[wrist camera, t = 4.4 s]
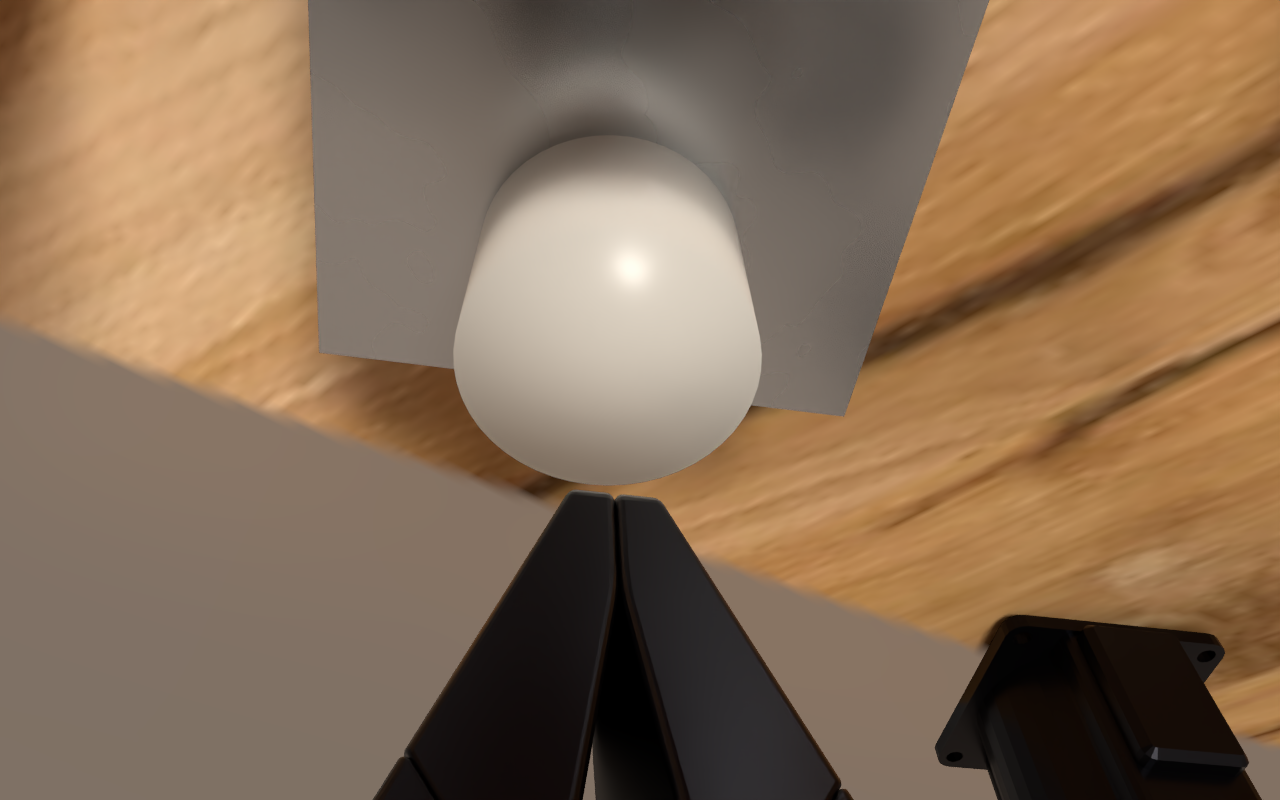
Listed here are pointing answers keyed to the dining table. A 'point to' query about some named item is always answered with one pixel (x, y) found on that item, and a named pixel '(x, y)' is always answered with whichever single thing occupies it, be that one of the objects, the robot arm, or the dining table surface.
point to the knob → (608, 315)
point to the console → (641, 108)
